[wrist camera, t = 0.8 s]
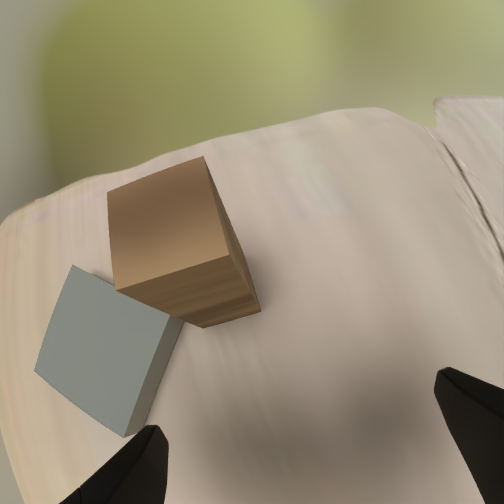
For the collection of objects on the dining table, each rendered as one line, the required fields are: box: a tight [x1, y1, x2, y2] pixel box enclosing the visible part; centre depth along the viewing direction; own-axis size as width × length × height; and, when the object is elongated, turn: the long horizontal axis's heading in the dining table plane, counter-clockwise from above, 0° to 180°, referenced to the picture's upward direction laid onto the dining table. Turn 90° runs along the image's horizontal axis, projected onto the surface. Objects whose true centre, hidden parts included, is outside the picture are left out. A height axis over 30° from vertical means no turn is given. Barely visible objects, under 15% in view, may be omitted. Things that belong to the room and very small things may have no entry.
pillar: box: [107, 156, 261, 328], centre depth 17 cm, size 4×4×12 cm
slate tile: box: [34, 265, 184, 438], centre depth 21 cm, size 10×10×3 cm
